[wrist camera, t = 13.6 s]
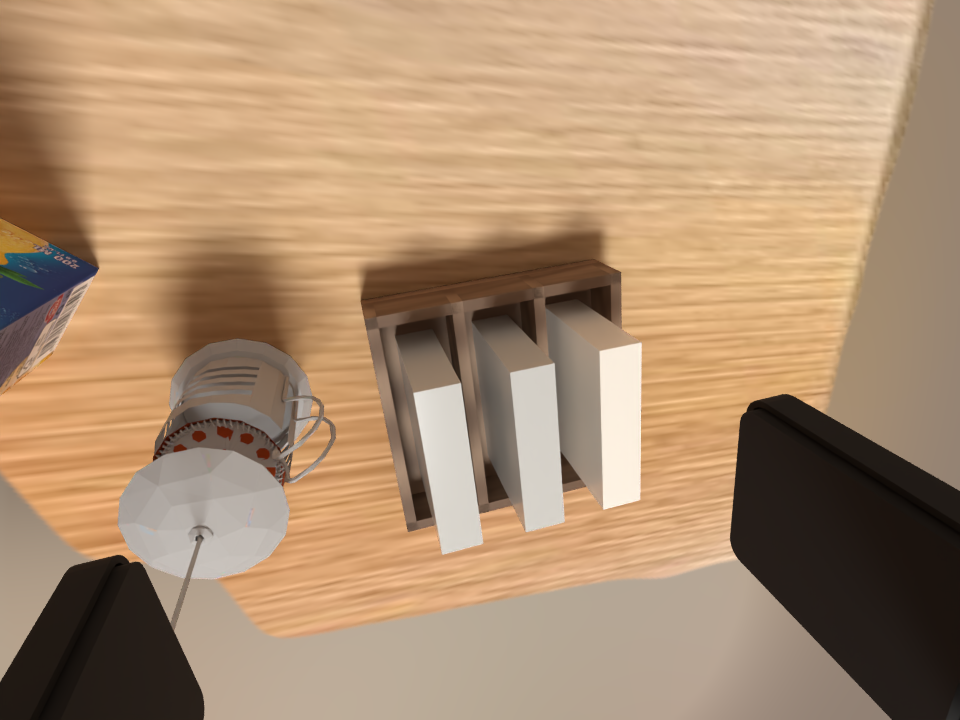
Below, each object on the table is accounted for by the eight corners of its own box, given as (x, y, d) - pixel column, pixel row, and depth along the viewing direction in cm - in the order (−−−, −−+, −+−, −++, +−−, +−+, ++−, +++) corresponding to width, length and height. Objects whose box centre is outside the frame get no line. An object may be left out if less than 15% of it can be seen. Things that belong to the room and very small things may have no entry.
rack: (360, 300, 40) (364, 319, 36) (593, 259, 44) (621, 272, 40) (401, 498, 48) (408, 532, 43) (599, 449, 51) (623, 477, 47)
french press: (139, 370, 39) (-123, 702, 16) (300, 308, 40) (263, 537, 17) (212, 478, 43) (85, 862, 20) (355, 419, 44) (385, 721, 21)
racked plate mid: (471, 321, 42) (510, 372, 33) (506, 314, 43) (554, 363, 34) (487, 455, 47) (525, 532, 38) (519, 448, 47) (564, 522, 38)
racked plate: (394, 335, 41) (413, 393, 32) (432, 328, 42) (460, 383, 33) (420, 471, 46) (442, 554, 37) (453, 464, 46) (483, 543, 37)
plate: (542, 305, 43) (599, 350, 34) (577, 299, 44) (641, 342, 35) (551, 438, 48) (603, 509, 39) (582, 431, 48) (640, 499, 39)
